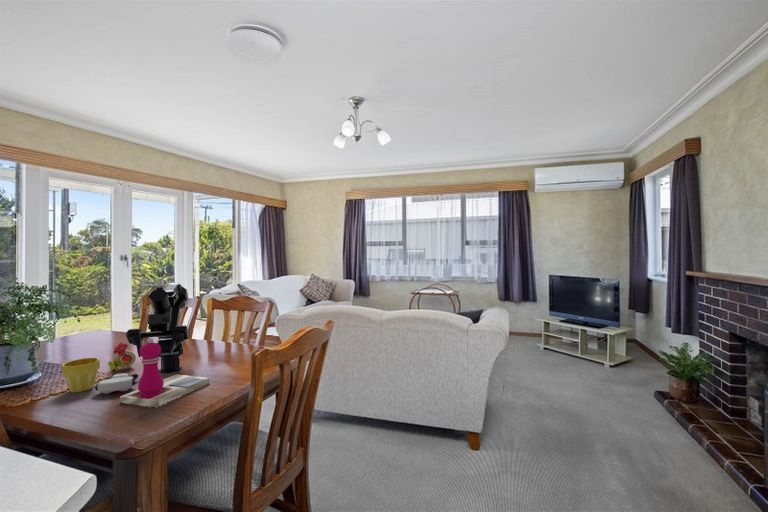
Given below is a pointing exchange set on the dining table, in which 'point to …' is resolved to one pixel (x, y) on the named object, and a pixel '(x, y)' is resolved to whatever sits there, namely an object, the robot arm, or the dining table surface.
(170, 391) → the puzzle board
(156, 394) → the pepper mill
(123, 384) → the robot toy
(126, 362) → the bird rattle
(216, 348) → the dining table surface
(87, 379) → the plant pot
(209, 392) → the dining table surface
